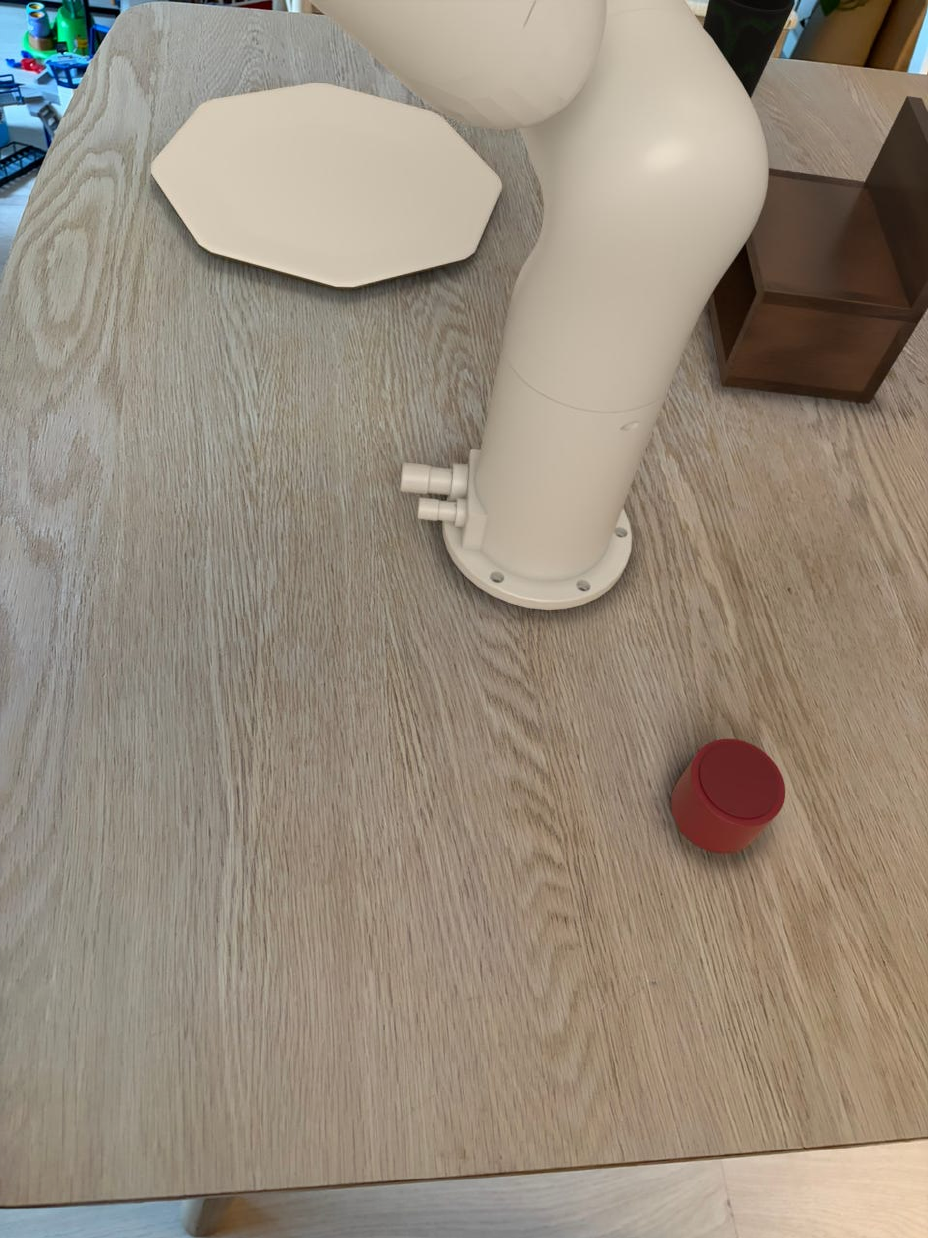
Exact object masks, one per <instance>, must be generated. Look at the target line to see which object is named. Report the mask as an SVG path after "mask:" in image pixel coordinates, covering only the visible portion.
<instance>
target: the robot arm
mask: <svg viewBox="0 0 928 1238" xmlns="http://www.w3.org/2000/svg"><path fill="white" fill-rule="evenodd" d="M307 1H308V2H309V3H310V4H311V5H313V7H315V8H316V9H317V10H318V11H320V12H321V13H322V14H323V15H324V16H325V17H327V19H329V20H330V21H331V22H332V23H333V24H334V25H336V26H337V27H338V28H339V29H341V30H342V31H343V32H344V33H345V34H346V35H348V36H349V37H350V38H351V39H352V40H354V41H355V43H357V44H358V45H359V46H360V47H361V48H363V50H365V51H366V52H367V53H369V54H370V55H371V56H372V57H373V58H374V59H376V61H377V62H378V63H379V64H381V65H382V66H383V67H384V68H385V69H386V70H387V71H388V72H389V73H390V74H391V75H392V76H393V77H395V78H396V80H398V81H399V82H400V83H401V84H402V85H403V86H404V87H406V88H407V89H408V90H409V91H410V92H412V93H413V94H414V95H415V96H416V97H418V98H419V99H420V100H421V101H422V102H423V103H425V104H426V106H429V107H430V108H432V109H434V110H436V111H438V112H439V113H440V114H443V115H444V116H446V117H448V118H449V119H451V120H453V121H456V122H459V123H462V124H465V125H468V126H472V127H474V128H477V129H483V130H493V131H502V132H503V131H504V132H506V131H507V132H508V131H513V130H518V131H519V134H520V137H521V139H522V141H523V143H524V145H525V148H526V150H527V154H528V157H529V161H530V163H531V165H532V168H533V170H534V172H535V174H536V177H537V179H538V182H539V185H540V189H541V193H542V199H543V201H542V202H543V216H542V217H543V218H542V223H541V230H540V233H539V236H538V238H537V241H536V243H535V246H534V248H533V249H532V251H531V252H530V254H529V255H528V256H527V258H526V260H525V261H524V264H523V265H522V267H521V269H520V271H519V273H518V275H517V278H516V281H515V283H514V287H513V290H512V293H511V297H510V300H509V304H508V309H507V314H506V319H505V323H504V328H503V333H502V343H501V347H500V353H499V358H498V362H497V367H496V373H495V377H494V382H493V387H492V391H491V397H490V401H489V406H488V411H487V416H486V421H485V426H484V430H483V435H482V439H481V443H480V444H481V445H480V448H478V449H477V448H471V449H470V450H469V454H468V458H467V459H468V460H467V463H457V462H452V464H451V468H448V467H440V466H431V464H427V463H419V462H410V461H403V462H402V469H401V478H400V487H399V488H400V489H399V492H401V493H411V494H422V495H428V494H433V495H435V494H436V495H443V496H447V498H446V500H440V499H436V498H428V497H419V498H418V502H417V514H416V519H417V520H422V521H423V520H425V521H432V522H433V521H434V522H437V521H441V529H442V531H441V533H442V538H443V542H444V545H445V548H446V550H447V552H448V554H449V556H450V559H451V560H452V562H453V563H454V564H455V565H456V567H457V568H458V570H459V571H460V572H461V573H462V574H463V576H464V577H466V578H467V579H468V580H469V581H470V582H472V583H473V585H475V586H476V587H477V588H479V589H481V590H482V591H484V592H485V593H487V594H489V595H490V596H492V597H493V598H496V599H498V600H501V601H503V602H506V603H508V604H511V605H515V606H519V607H522V608H526V609H533V610H534V609H535V610H543V611H544V610H545V611H552V610H553V611H555V610H567V609H572V608H576V607H581V606H583V605H586V604H589V603H590V602H592V601H595V600H597V599H599V598H600V597H602V596H603V595H605V594H606V593H607V592H609V591H610V590H611V589H612V588H613V587H614V586H615V585H616V583H617V582H618V581H619V580H620V579H621V577H622V575H623V573H624V572H625V569H626V567H627V565H628V562H629V559H630V557H631V553H632V548H633V533H632V526H631V522H630V520H629V517H628V515H627V512H626V510H625V508H624V506H625V504H626V501H627V499H628V496H629V493H630V491H631V489H632V486H633V483H634V481H635V478H636V475H637V473H638V470H639V468H640V465H641V462H642V460H643V458H644V455H645V452H646V451H647V448H648V444H649V442H650V440H651V437H652V434H653V432H654V429H655V427H656V424H657V421H658V420H659V417H660V414H661V411H662V409H663V406H664V404H665V401H666V398H667V396H668V393H669V391H670V389H671V385H672V383H673V381H674V378H675V376H676V372H677V370H678V367H679V365H680V362H681V360H682V358H683V355H684V352H685V351H686V348H687V346H688V343H689V341H690V339H691V337H692V333H693V331H694V329H695V328H696V325H697V323H698V320H699V319H700V317H701V315H702V313H703V311H704V308H705V307H706V305H707V301H708V299H709V297H710V296H711V294H712V292H713V291H714V289H715V287H716V286H717V284H718V283H719V281H720V279H721V278H722V276H723V275H724V274H725V272H726V271H727V269H728V268H729V266H730V265H731V263H732V262H733V260H734V259H735V258H736V256H737V255H738V253H739V252H740V250H741V249H742V247H743V246H744V244H745V242H746V241H747V239H748V238H749V236H750V234H751V232H752V230H753V229H754V227H755V225H756V223H757V221H758V218H759V215H760V213H761V210H762V208H763V205H764V201H765V198H766V193H767V187H768V172H769V168H770V167H769V166H770V164H769V152H768V146H767V142H766V137H765V135H764V134H765V133H764V130H763V126H762V123H761V119H760V118H759V116H758V113H757V110H756V108H755V106H754V103H753V101H752V98H751V99H750V97H749V95H748V94H747V92H746V90H745V88H744V86H743V85H742V83H741V81H740V80H739V78H738V77H737V75H736V74H735V72H734V71H733V69H732V68H731V66H730V65H729V63H728V62H727V60H726V59H725V57H724V56H723V54H722V53H721V51H720V50H719V48H718V47H717V45H716V44H715V42H714V41H713V39H712V38H711V36H710V35H709V34H708V33H707V32H706V31H705V30H704V28H703V25H702V23H701V22H700V20H699V19H698V18H697V16H696V15H695V13H694V11H693V10H692V9H691V7H690V5H689V4H688V3H687V1H686V0H307Z"/></svg>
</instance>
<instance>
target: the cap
mask: <svg viewBox="0 0 928 1238" xmlns="http://www.w3.org/2000/svg"><path fill="white" fill-rule="evenodd" d="M785 798H786V787H785V781H784V777H783V775H782V772H781V770H780V769H779V767H778V765H777V764H776V763H775V761H774V760H773V759H772V758H771V756H769V755H768V754H767V753H766V752H765V751H763V750H762V749H761V748H759V747H757V746H756V745H754V744H752V743H750V742H747V741H745V740H742V739H737V738H720V739H715V740H712V741H709V742H708V743H706V744H704V746H702V747H701V748H700V749H699V750H698V751H697V753H696V754H695V756H694V757H693V758H692V760H691V762H689V764H688V766H687V767H686V769H685V770H684V771H683V773H682V775H681V776H680V778H679V779H678V780H677V782H676V783H675V785H674V788H673V789H672V791H671V796H670V810H671V814H672V817H673V820H674V822H675V824H676V826H677V828H678V829H679V830H680V832H681V833H682V835H684V837H685V838H686V839H688V841H690V842H691V843H692V844H694V845H695V846H697V847H698V848H700V849H701V850H704V851H707V852H710V853H714V854H722V855H727V854H735V853H738V852H741V851H743V850H744V849H746V848H748V847H749V846H750V845H751V844H752V843H753V842H754V841H755V840H756V839H757V838H758V837H759V835H761V833H762V832H763V831H764V830H765V829H766V828H767V827H768V826H769V824H770V823H771V822H772V821H773V820H774V819H775V818H776V817H777V816H778V814H779V813H780V812H781V810H782V808H783V806H784V803H785V800H786V799H785Z"/></svg>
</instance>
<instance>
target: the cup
mask: <svg viewBox="0 0 928 1238" xmlns="http://www.w3.org/2000/svg"><path fill="white" fill-rule="evenodd" d="M795 4H796V0H708V3H707V7H706V12H705V16H704V21H703V25H702V27H703V28H704V30H705V31H706V32H707V33H708V34H709V35H710V36H711V38H712V39H713V41H714V42H715V44H716V45H717V47H718V48H719V50H720V51H721V53H722V54H723V56H724V57H725V59H726V60H727V62H728V63H729V65H730V66H731V68H732V69H733V71H734V72H735V74H736V75H737V77H738V78H739V80H740V81H741V83H742V85H743V86H744V88H745V90H746V92H747V94H748V95H749V97H750V99H751V100H752V97H753V95H754V92H755V91H756V88H757V86H758V84H759V82H760V79H761V78H762V76H763V74H764V71H765V69H766V67H767V65H768V63H769V60H770V59H771V56H772V54H773V52H774V49H775V47H776V46H777V43H778V41H779V39H780V37H781V34H782V32H783V31H784V29H785V28H784V27H786V24H787V22H788V19H789V17H790V15H791V13H792V11H793V9H794V7H795Z"/></svg>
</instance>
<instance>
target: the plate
mask: <svg viewBox="0 0 928 1238" xmlns="http://www.w3.org/2000/svg"><path fill="white" fill-rule="evenodd" d="M163 147H164V148H163V149H162V150H161V151H160V152H159V153H158V155H156V157H155V158H154V159H153V161H151V163H150V175H151V177H152V179H153V180H154V182H155V184H156V185H157V186H158V188H159V189H160V191H161V192H162V193H163V195H164V197H165V198H166V199H167V201H168V202H169V205H171V207H172V209H173V210H174V211H175V213H176V214H177V216H178V217H179V219H180V221H181V222H182V224H183V225H184V227H185V228H186V229H187V231H188V232H189V233H190V235H191V237H192V238H193V240H194V241H195V243H196V244H197V245H198V247H199V248H201V249H202V250H204V251H206V252H207V253H209V254H210V255H212V256H214V257H215V256H216V257H218V258H223V259H226V260H230V261H233V262H236V263H240V264H244V265H248V266H251V267H255V268H258V269H261V270H264V271H265V270H266V271H269V272H272V273H277V274H280V275H284V276H286V277H287V276H288V277H290V278H295V279H298V280H302V281H305V282H309V283H313V284H315V285H320V286H323V287H326V288H327V287H328V288H330V289H335V290H356V289H360V288H364V287H367V286H372V285H377V284H379V283H384V282H387V281H392V280H396V279H399V278H403V277H408V276H412V275H415V274H416V275H417V274H420V273H424V272H426V271H428V272H429V271H433V270H436V269H439V268H443V267H447V266H451V265H455V264H459V263H464V262H466V261H467V260H469V259H470V258H471V257H472V256H474V255H475V253H476V252H477V250H478V247H479V244H480V242H481V240H482V237H483V235H484V233H485V230H486V228H487V225H488V223H489V221H490V218H491V216H492V213H493V211H494V209H495V207H496V204H497V202H498V200H499V197H500V195H501V193H502V190H503V184H502V180H501V177H499V175H498V174H497V173H496V172H495V171H494V170H493V169H492V168H491V167H490V165H488V164H487V163H486V161H485V160H483V159H482V157H481V156H480V155H479V154H478V153H477V152H476V151H475V150H474V149H473V148H472V147H471V146H470V145H469V144H468V143H467V141H465V139H464V138H463V137H462V136H461V134H459V133H458V132H457V131H456V129H454V128H453V126H452V125H451V124H450V123H448V121H447V120H446V119H445V118H444V117H443V116H441V115H439V114H437V113H435V112H434V111H432V110H429V109H426V108H422V107H417V106H414V105H410V104H408V103H407V104H406V103H402V102H399V101H395V100H392V99H388V98H384V97H380V96H376V95H373V94H369V93H366V92H362V91H358V90H355V89H350V88H348V87H343V86H339V85H336V84H333V83H327V82H309V83H302V84H296V85H291V86H283V87H278V88H272V89H266V90H259V91H255V92H254V91H253V92H247V93H242V94H241V93H240V94H235V95H229V96H222V97H217V98H211V99H209V100H207V101H205V102H203V103H201V104H199V105H198V106H197V108H196V109H194V111H193V112H192V113H191V115H190V116H189V117H188V119H187V120H186V121H185V122H184V123H183V124H182V126H181V127H180V128H179V129H178V131H177V132H176V133H175V134H174V135H173V137H172V138H171V139H170V140H169V141H168V142H167V144H165V146H163Z"/></svg>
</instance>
